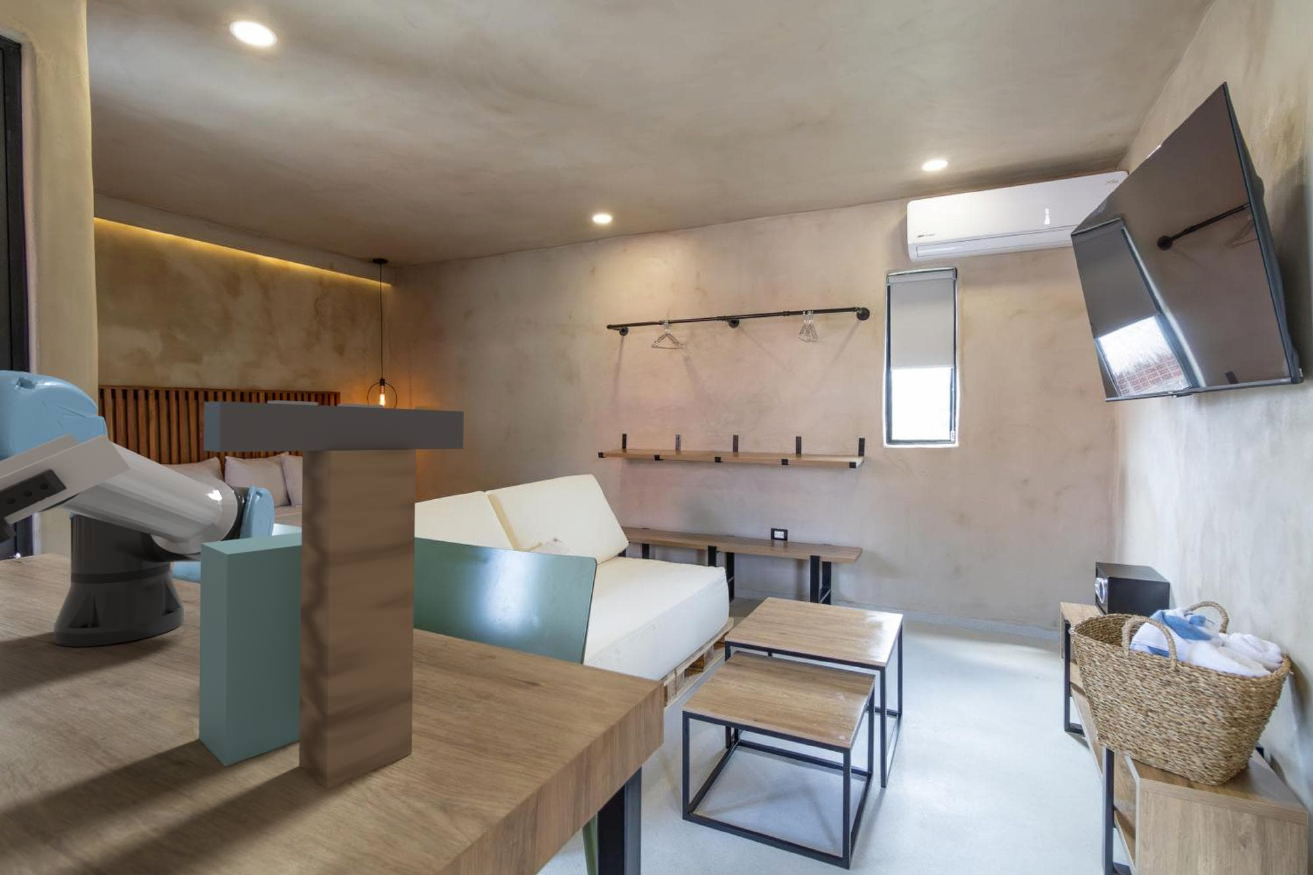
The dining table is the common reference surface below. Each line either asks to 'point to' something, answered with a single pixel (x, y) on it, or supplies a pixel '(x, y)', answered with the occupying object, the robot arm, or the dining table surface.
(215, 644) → the teal block
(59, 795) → the dining table surface
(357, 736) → the walnut stand
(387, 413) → the power strip
